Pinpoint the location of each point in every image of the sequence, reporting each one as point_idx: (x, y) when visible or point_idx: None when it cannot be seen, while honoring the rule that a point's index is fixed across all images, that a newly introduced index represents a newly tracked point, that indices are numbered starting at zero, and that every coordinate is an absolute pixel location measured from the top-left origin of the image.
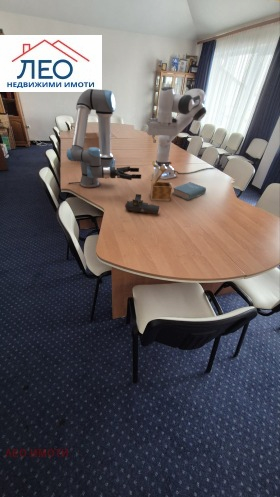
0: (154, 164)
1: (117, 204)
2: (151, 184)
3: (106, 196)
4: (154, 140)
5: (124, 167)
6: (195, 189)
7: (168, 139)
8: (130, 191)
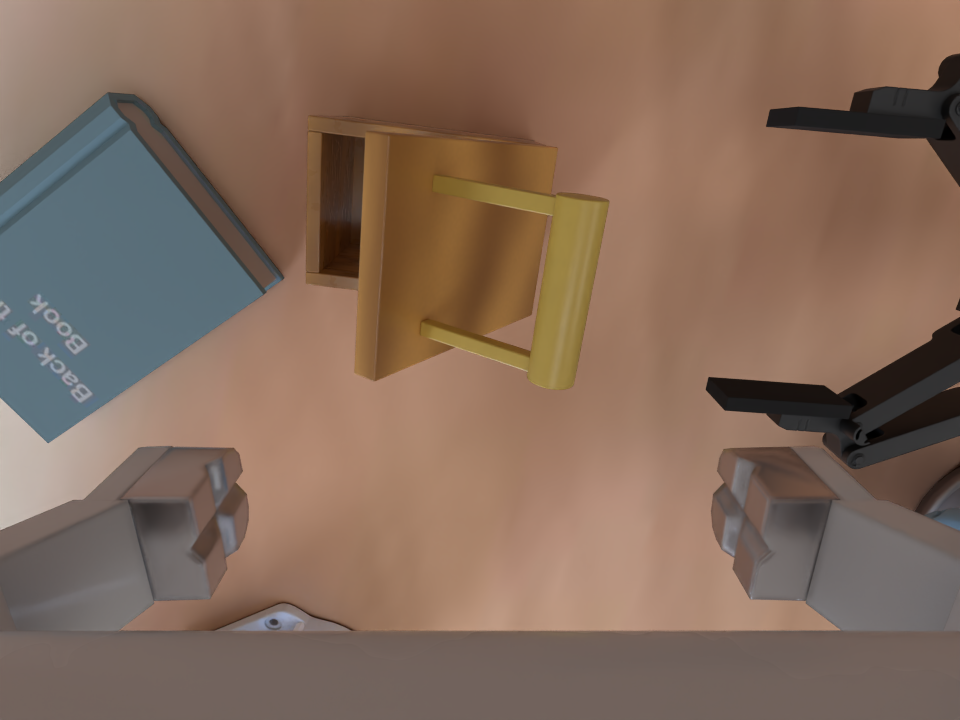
0: (597, 200)
1: (905, 61)
2: None
3: (941, 258)
4: (839, 486)
5: (916, 438)
6: (14, 238)
7: (139, 605)
8: (681, 359)
